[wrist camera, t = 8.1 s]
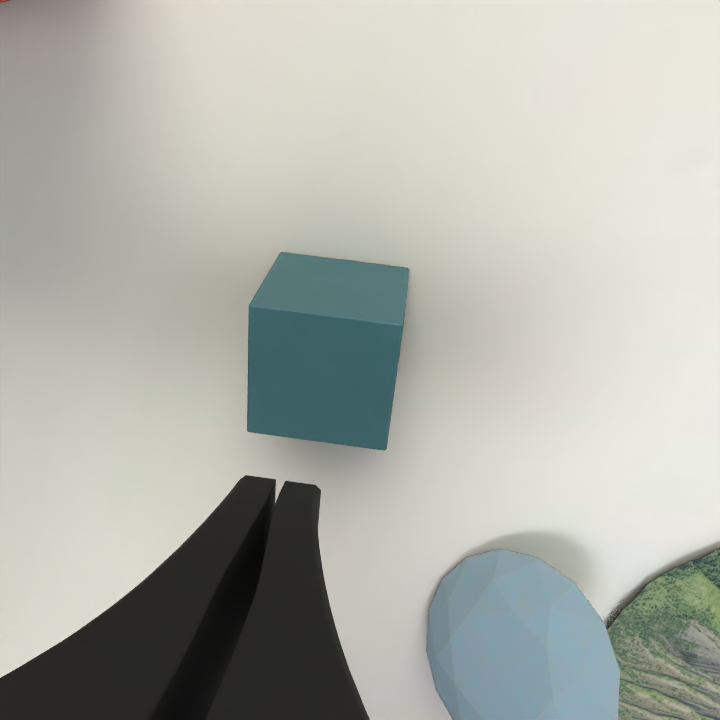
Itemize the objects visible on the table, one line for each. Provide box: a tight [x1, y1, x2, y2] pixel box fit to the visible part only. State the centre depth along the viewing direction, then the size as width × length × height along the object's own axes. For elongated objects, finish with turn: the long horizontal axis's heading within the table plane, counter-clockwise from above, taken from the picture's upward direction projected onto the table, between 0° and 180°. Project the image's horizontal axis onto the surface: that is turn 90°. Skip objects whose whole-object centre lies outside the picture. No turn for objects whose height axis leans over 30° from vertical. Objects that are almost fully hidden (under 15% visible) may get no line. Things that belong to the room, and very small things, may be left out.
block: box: [247, 252, 409, 450], centre depth 20 cm, size 4×4×4 cm
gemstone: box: [426, 549, 620, 720], centre depth 26 cm, size 8×8×5 cm
